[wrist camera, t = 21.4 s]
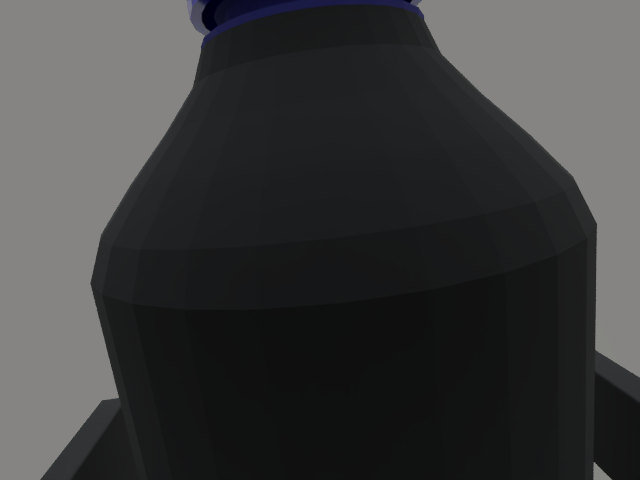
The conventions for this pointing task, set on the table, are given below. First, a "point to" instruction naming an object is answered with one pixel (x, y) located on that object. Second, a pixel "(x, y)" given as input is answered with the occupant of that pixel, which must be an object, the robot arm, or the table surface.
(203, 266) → the bottle
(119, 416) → the robot arm
